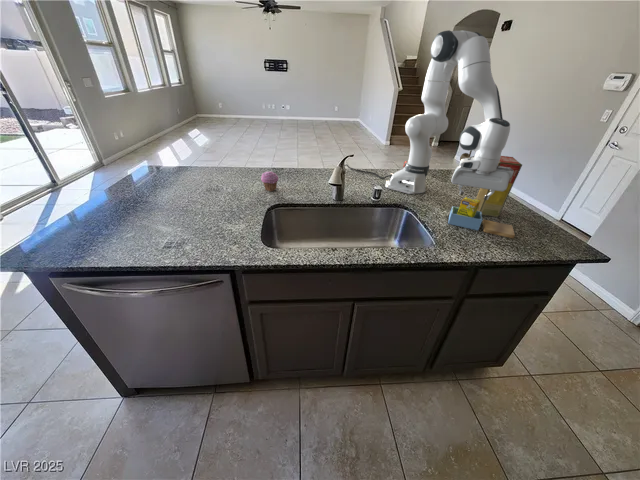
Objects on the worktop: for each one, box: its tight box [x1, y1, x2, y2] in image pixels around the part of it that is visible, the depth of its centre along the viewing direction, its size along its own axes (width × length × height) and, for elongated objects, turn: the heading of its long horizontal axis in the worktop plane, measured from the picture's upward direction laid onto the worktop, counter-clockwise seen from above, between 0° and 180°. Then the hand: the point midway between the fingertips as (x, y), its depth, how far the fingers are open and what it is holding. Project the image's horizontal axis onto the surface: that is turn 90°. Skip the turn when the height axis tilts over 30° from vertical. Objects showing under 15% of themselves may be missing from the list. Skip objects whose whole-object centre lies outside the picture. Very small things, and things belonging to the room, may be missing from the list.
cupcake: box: [261, 171, 279, 192], centre depth 141 cm, size 9×9×10 cm
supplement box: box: [457, 196, 480, 218], centre depth 116 cm, size 6×6×11 cm
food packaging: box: [475, 155, 523, 218], centre depth 124 cm, size 13×9×25 cm
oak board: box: [482, 219, 516, 239], centre depth 114 cm, size 11×10×2 cm
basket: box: [447, 205, 483, 231], centre depth 118 cm, size 12×9×5 cm
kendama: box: [459, 151, 475, 162], centre depth 160 cm, size 6×10×20 cm, turn 3°
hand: (473, 197), depth 112 cm, fingers open, 8 cm apart
